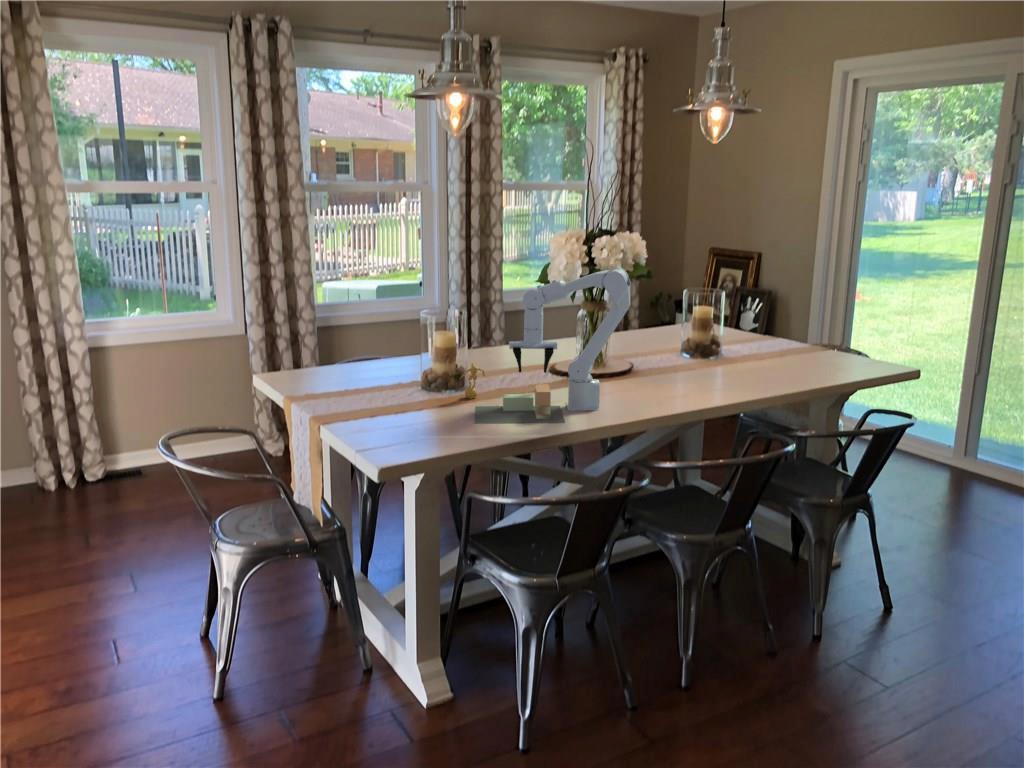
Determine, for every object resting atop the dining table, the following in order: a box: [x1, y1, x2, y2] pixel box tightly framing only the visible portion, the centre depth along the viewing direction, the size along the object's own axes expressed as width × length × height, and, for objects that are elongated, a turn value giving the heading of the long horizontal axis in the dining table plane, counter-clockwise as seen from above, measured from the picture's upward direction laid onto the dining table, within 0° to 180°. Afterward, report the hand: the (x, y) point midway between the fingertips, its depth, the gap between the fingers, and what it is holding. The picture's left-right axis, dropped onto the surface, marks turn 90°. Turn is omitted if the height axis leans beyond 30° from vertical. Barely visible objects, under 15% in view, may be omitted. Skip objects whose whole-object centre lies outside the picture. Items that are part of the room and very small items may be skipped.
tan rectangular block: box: [534, 383, 552, 405], centre depth 245 cm, size 4×9×4 cm, turn 2°
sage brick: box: [502, 393, 534, 411], centre depth 252 cm, size 9×4×4 cm, turn 92°
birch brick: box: [534, 399, 552, 419], centre depth 246 cm, size 4×9×4 cm, turn 2°
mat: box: [474, 405, 566, 425], centre depth 246 cm, size 26×18×1 cm
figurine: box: [459, 363, 486, 400], centre depth 262 cm, size 8×6×12 cm
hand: (532, 371), depth 256 cm, fingers open, 7 cm apart
